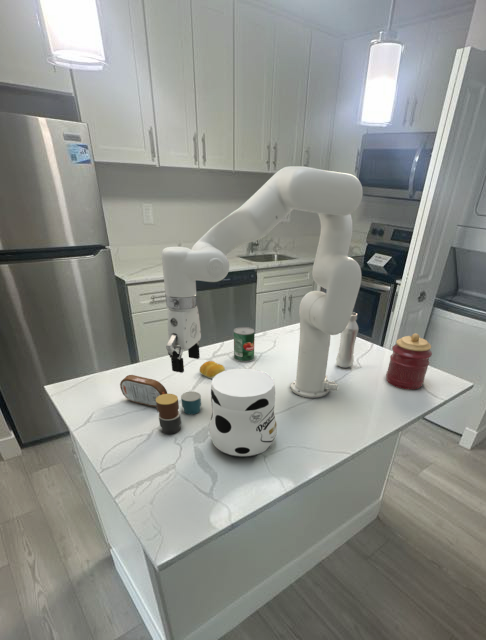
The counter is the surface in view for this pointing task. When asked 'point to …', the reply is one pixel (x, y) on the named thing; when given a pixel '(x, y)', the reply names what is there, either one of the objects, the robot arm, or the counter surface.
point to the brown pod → (167, 406)
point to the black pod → (170, 424)
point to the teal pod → (191, 402)
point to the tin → (142, 390)
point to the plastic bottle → (347, 343)
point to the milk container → (243, 412)
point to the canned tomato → (244, 344)
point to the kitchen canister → (409, 362)
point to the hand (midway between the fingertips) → (186, 364)
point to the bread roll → (211, 369)
